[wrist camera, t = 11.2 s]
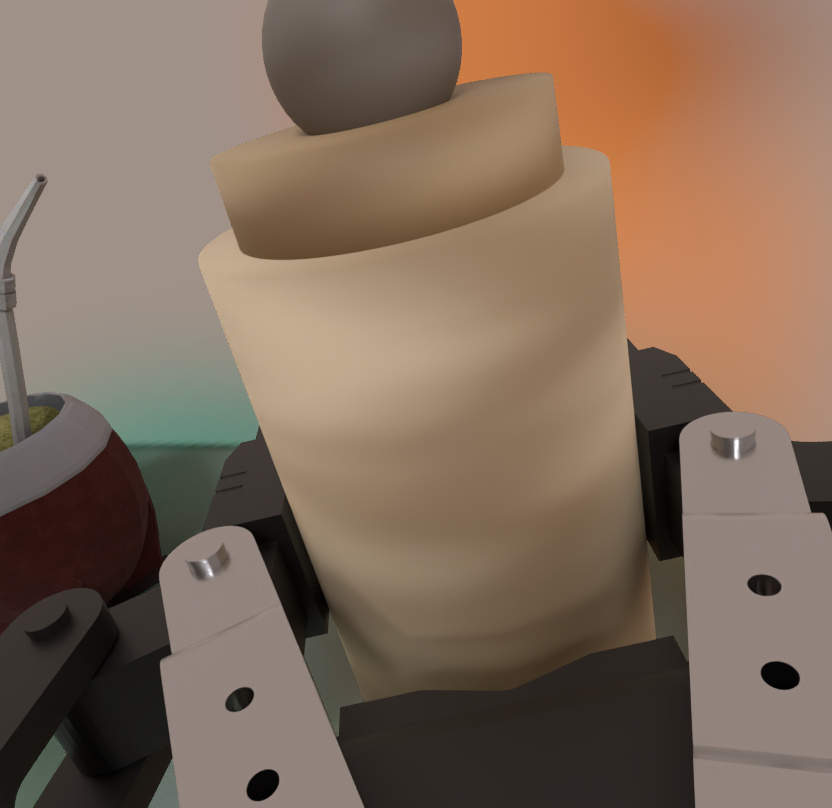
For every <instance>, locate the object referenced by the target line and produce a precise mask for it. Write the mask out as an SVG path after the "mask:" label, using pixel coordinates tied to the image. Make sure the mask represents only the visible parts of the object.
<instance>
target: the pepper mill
mask: <svg viewBox="0 0 832 808" xmlns="http://www.w3.org/2000/svg"><path fill="white" fill-rule="evenodd" d="M262 49H263V58H264V64H265V68H266V72H267V76H268V79H269V82H270V84H271V87H272V89H273V92H274V94H275V96H276V97H277V99H278V101H279V103H280V104H281V106H282V108H283V109H284V110H285V112H286V113H287V115H288V116H289V117H290V118H291V119H292V120H293V122H294V123H295V124H296V125H297V126H294V127H291V128H288V129H284V130H281V131H278V132H275V133H272V134H269V135H266V136H263V137H260V138H257V139H255V140H252V141H249V142H246V143H244V144H241V145H238V146H236V147H234V148H231V149H229V150H226V151H224V152H222V153H220V154H218V155H216V156H215V157H213V158H212V159H211V160H210V165H211V168H212V171H213V174H214V177H215V180H216V183H217V185H218V188H219V191H220V194H221V197H222V200H223V202H224V206H225V208H226V211H227V214H228V217H229V220H230V223H231V226H232V228H231V229H229V230H228V231H226V232H224V233H223V234H221V235H219V236H218V237H217V238H215V239H214V240H213V241H212V242H210V243H209V244H208V245H207V246H206V247H205V248H204V249H203V250H202V252H201V253H200V255H199V257H198V264H199V267H200V269H201V272H202V275H203V277H204V280H205V283H206V285H207V288H208V290H209V293H210V296H211V298H212V301H213V304H214V306H215V309H216V312H217V314H218V317H219V320H220V322H221V325H222V327H223V330H224V333H225V335H226V338H227V340H228V343H229V346H230V349H231V351H232V354H233V356H234V359H235V361H236V364H237V367H238V370H239V372H240V375H241V378H242V380H243V383H244V385H245V388H246V391H247V394H248V396H249V399H250V401H251V404H252V407H253V409H254V412H255V415H256V417H257V420H258V423H259V425H260V428H261V430H262V433H263V436H264V438H265V441H266V444H267V446H268V449H269V452H270V454H271V457H272V460H273V462H274V465H275V467H276V470H277V473H278V475H279V478H280V481H281V483H282V486H283V489H284V491H285V494H286V497H287V499H288V502H289V504H290V507H291V510H292V512H293V515H294V518H295V520H296V523H297V526H298V528H299V531H300V533H301V536H302V539H303V541H304V544H305V547H306V549H307V552H308V555H309V557H310V560H311V563H312V565H313V568H314V570H315V573H316V576H317V578H318V581H319V584H320V586H321V589H322V592H323V594H324V597H325V599H326V602H327V605H328V607H329V610H330V613H331V615H332V618H333V621H334V623H335V626H336V629H337V631H338V634H339V636H340V639H341V642H342V644H343V647H344V650H345V652H346V655H347V658H348V660H349V663H350V665H351V668H352V671H353V673H354V676H355V679H356V681H357V684H358V687H359V689H360V692H361V695H362V697H363V700H364V702H368V701H373V700H377V699H382V698H387V697H391V696H396V695H401V694H405V693H410V692H414V691H419V690H472V691H502V690H509V689H513V688H516V687H518V686H521V685H523V684H525V683H527V682H529V681H532V680H534V679H536V678H538V677H540V676H542V675H545V674H547V673H549V672H551V671H553V670H555V669H558V668H560V667H562V666H564V665H566V664H568V663H571V662H573V661H575V660H577V659H579V658H582V657H584V656H586V655H588V654H590V653H595V652H600V651H604V650H609V649H614V648H618V647H623V646H628V645H632V644H637V643H641V642H646V641H651V640H655V639H656V632H655V621H654V611H653V601H652V591H651V580H650V570H649V560H648V550H647V539H646V529H645V519H644V509H643V498H642V488H641V478H640V468H639V457H638V447H637V437H636V427H635V416H634V406H633V396H632V386H631V375H630V365H629V355H628V345H627V335H626V325H625V314H624V304H623V293H622V283H621V273H620V263H619V253H618V242H617V232H616V222H615V211H614V202H613V191H612V182H611V170H610V162H609V159H608V158H607V156H606V155H604V154H602V153H601V152H599V151H596V150H593V149H589V148H583V147H574V146H573V147H572V146H561V138H560V130H559V122H558V114H557V106H556V98H555V91H554V83H553V76H552V74H550V73H529V74H518V75H511V76H504V77H498V78H492V79H486V80H480V81H475V82H470V83H465V84H460V85H456V83H457V79H458V75H459V70H460V65H461V56H462V38H461V29H460V23H459V19H458V15H457V10H456V8H455V5H454V2H453V0H268V3H267V7H266V11H265V14H264V21H263V28H262Z"/></svg>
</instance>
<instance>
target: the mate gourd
mask: <svg viewBox="0 0 832 808" xmlns="http://www.w3.org/2000/svg"><path fill="white" fill-rule="evenodd" d="M46 184H47V178H46V177H45V176H44V175H43V174H37V175H36V177H35V178H34V179H33V180H32V182H31V183H30V185H29V186H28V188H27V189H26V191H25V192H24V194H23V195H22V197H21V198H20V200H19V201H18V203H17V204H16V206H15V207H14V209H13V210H12V212H11V213H10V215H9V216H8V218H7V219H6V221H5V222H4V224H3V225H2V226H1V228H0V362H1V367H2V373H3V379H4V385H5V391H6V396H7V400H6V401H3V402H0V635H1V634H2V633H3V632H4V631H5V630H6V628H7V627H8V626H9V625H10V624H11V623H12V622H13V621H14V620H15V619H16V618H17V617H18V616H19V615H21V614H22V613H23V612H24V611H26V610H27V609H28V608H30V607H31V606H33V605H35V604H36V603H38V602H39V601H41V600H43V599H45V598H47V597H49V596H52V595H54V594H56V593H59V592H62V591H65V590H69V589H75V588H89V589H93V590H95V591H97V592H98V593H99V594H100V596H101V598H102V599H103V601H104V603H105V605H106V606H107V608H108V609H109V608H111V607H114V606H116V605H118V604H120V603H123V602H125V601H126V600H128V599H130V598H132V597H133V596H135V595H137V594H139V593H140V592H142V591H144V590H146V589H148V588H149V587H151V586H153V585H155V584H156V583H158V582H160V580H159V572H160V568H161V566H162V564H163V562H164V561H165V559H166V558H167V557H168V555H165V556H163V557H162V555H161V549H160V542H159V533H158V526H157V520H156V514H155V509H154V506H153V504H152V501H151V498H150V495H149V492H148V490H147V487H146V485H145V483H144V480H143V478H142V475H141V472H140V470H139V467H138V464H137V462H136V461H135V459H134V457H133V456H132V454H131V453H130V451H129V449H128V448H127V446H126V445H125V443H124V442H123V441H122V440H121V438H120V437H119V436H118V434H117V433H116V432H115V431H114V430H113V429H112V428H111V426H110V424H109V423H108V422H107V420H106V419H105V418H104V416H103V415H102V414H101V413H100V412H98V411H97V410H95V409H94V408H92V407H91V406H89V405H87V404H86V403H84V402H82V401H80V400H78V399H76V398H74V397H72V396H70V395H67V394H61V393H53V392H43V393H36V394H29V395H27V394H26V388H25V381H24V375H23V369H22V362H21V357H20V349H19V343H18V337H17V331H16V325H15V319H14V312H13V308H14V307H16V303H17V302H16V290H15V275H13V274H12V273H10V271H11V262H12V259H13V255H14V252H15V249H16V245H17V242H18V240H19V237H20V235H21V233H22V231H23V229H24V227H25V225H26V222H27V221H28V219H29V217H30V215H31V213H32V211H33V209H34V207H35V205H36V203H37V201H38V199H39V197H40V195H41V193H42V191H43V189H44V187H45V186H46Z"/></svg>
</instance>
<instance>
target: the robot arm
mask: <svg viewBox="0 0 832 808" xmlns="http://www.w3.org/2000/svg"><path fill="white" fill-rule="evenodd" d="M627 345H628V355H629V365H630V375H631V386H632V396H633V406H634V416H635V427H636V437H637V447H638V457H639V468H640V478H641V488H642V498H643V509H644V519H645V529H646V539H647V540H648V542H649V544H650V546H651V547H652V549H653V551H654V553H655V554H656V556H657V558H658V560H659V561H662V560H667V559H671V558H676V557H680V556H683V558H684V563H685V584H686V605H687V627H688V648H689V662H687V661H686V659H685V657H684V655H683V653H682V652H681V650H680V648H679V646H678V644H677V642H676V640H675V638H674V636H669V637H665V638H660V639H655V640H651V641H646V642H641V643H637V644H632V645H628V646H623V647H618V648H614V649H609V650H604V651H600V652H595V653H590V654H588V655H586V656H584V657H582V658H579V659H577V660H575V661H573V662H571V663H568V664H566V665H564V666H562V667H560V668H558V669H555V670H553V671H551V672H549V673H547V674H545V675H542V676H540V677H538V678H536V679H534V680H532V681H529V682H527V683H525V684H523V685H521V686H518V687H516V688H513V689H509V690H502V691H472V690H419V691H414V692H410V693H405V694H401V695H396V696H391V697H387V698H382V699H377V700H373V701H368V702H364V703H359V704H354V705H350V706H345V707H340V728H339V736H338V737H337V736H336V733H335V731H334V728H333V726H332V724H331V721H330V719H329V716H328V714H327V711H326V709H325V707H324V704H323V702H322V699H321V697H320V694H319V692H318V690H317V687H316V685H315V682H314V680H313V678H312V675H311V673H310V670H309V668H308V665H307V663H306V661H305V658H304V650H305V640H306V638H309V637H313V636H318V635H322V634H327V633H328V619H329V607H328V605H327V602H326V599H325V597H324V594H323V592H322V589H321V586H320V584H319V581H318V578H317V576H316V573H315V570H314V568H313V565H312V563H311V560H310V557H309V555H308V552H307V549H306V547H305V544H304V541H303V539H302V536H301V533H300V531H299V528H298V526H297V523H296V520H295V518H294V515H293V512H292V510H291V507H290V504H289V502H288V499H287V497H286V494H285V491H284V489H283V486H282V483H281V481H280V478H279V475H278V473H277V470H276V467H275V465H274V462H273V460H272V457H271V454H270V452H269V449H268V446H267V444H266V441H265V438H264V436H263V433H262V430H261V428H260V425H259V429H258V432H257V436H256V440H252V441H247V442H243V443H241V444H240V445H239V446H238V447H237V448H236V449H235V451H234V452H233V453H232V454H231V455H230V456H229V457H228V458H227V459H226V461H225V464H224V467H223V470H222V473H221V476H220V481H219V482H218V485H217V488H216V491H215V492H216V495H214V497H213V500H212V503H211V506H210V509H209V512H208V515H207V518H206V521H205V524H204V527H203V530H202V533H199V534H197V535H195V536H193V537H191V538H190V539H188V540H186V541H185V542H183V543H182V544H180V545H179V546H178V547H177V548H176V549H174V550H173V551H172V552H171V553H170V554H169V555H168V557H167V558H166V559H165V561H164V562H163V564H162V566H161V568H160V572H159V580H160V585H159V586H157V587H155V588H153V589H151V590H149V591H147V592H145V593H143V594H141V595H138V596H136V597H134V598H132V599H129V600H127V601H125V602H123V603H120V604H118V605H116V606H114V607H111V608H109V609H108V608H107V606H106V605H105V603H104V601H103V599H102V598H101V596H100V594H99V593H98V592H97V591H95V590H93V589H89V588H75V589H69V590H65V591H62V592H59V593H56V594H54V595H52V596H49V597H47V598H45V599H43V600H41V601H39V602H38V603H36V604H35V605H33V606H31V607H30V608H28V609H27V610H26V611H24V612H23V613H22V614H21V615H19V616H18V617H17V618H16V619H15V620H14V621H13V622H12V623H11V624H10V625H9V626H8V627H7V628H6V630H5V631H4V632H3V633H2V634H1V635H0V808H14V807H15V800H16V795H17V792H18V789H19V787H20V785H21V783H22V781H23V779H24V778H25V776H26V775H27V773H28V772H29V770H30V769H31V767H32V766H33V764H34V763H35V761H36V760H37V758H38V757H39V755H40V754H41V752H42V751H43V749H44V748H45V746H46V745H47V744H48V742H49V741H50V739H51V738H52V736H53V735H55V737H56V738H57V740H58V741H59V743H60V744H61V745H62V747H63V748H64V750H65V751H66V753H67V755H66V756H65V758H64V760H63V761H62V763H61V764H60V766H59V767H58V769H57V771H56V772H55V774H54V775H53V777H52V778H51V780H50V782H49V783H48V785H47V786H46V788H45V789H44V791H43V793H42V794H41V796H40V797H39V799H38V800H37V802H36V803H35V805H34V807H33V808H148V806H149V804H150V802H151V800H152V798H153V796H154V794H155V792H156V790H157V788H158V786H159V784H160V782H161V780H162V778H163V776H164V774H165V772H166V770H167V768H168V766H169V764H170V762H171V760H172V758H173V762H174V770H175V777H176V784H177V791H178V798H179V805H180V808H832V441H830V442H796V441H791V440H790V436H789V434H788V432H787V430H786V429H785V428H784V427H783V426H782V425H781V424H779V423H778V422H776V421H774V420H772V419H770V418H767V417H765V416H762V415H758V414H753V413H746V412H733V411H731V409H730V408H729V407H728V406H726V404H724V403H723V402H722V400H721V399H720V398H719V397H717V396H716V395H715V393H714V392H712V391H711V390H710V389H709V388H708V387H707V386H706V385H705V384H704V383H701V380H700V379H699V378H698V377H697V376H696V375H695V374H694V373H693V372H690V369H689V368H688V367H687V366H686V365H685V364H684V363H683V362H682V361H681V360H680V359H679V358H678V357H677V356H676V355H673V354H670V353H668V352H665V351H663V350H660V349H657V348H655V347H651V348H647V349H643V350H638V349H637V348H636V347H635V346H634V345H633V344H632V343H631V342H630V341H629V340H628V338H627Z"/></svg>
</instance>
